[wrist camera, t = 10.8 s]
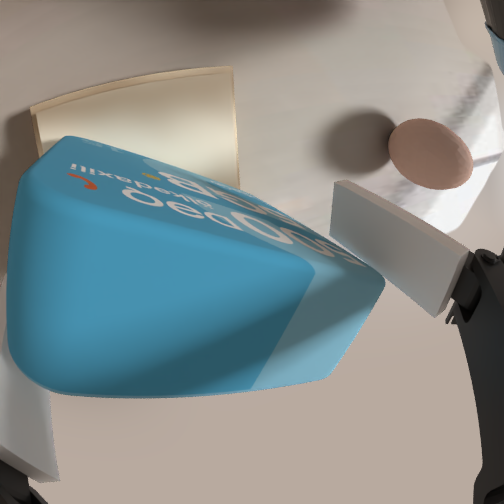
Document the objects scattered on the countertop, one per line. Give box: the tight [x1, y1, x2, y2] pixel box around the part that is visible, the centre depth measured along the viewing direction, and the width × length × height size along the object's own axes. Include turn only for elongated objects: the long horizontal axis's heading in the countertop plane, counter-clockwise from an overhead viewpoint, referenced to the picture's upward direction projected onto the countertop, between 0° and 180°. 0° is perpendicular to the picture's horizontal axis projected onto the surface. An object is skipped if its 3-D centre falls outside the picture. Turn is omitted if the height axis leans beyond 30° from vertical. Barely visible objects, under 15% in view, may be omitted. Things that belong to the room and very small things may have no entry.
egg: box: [388, 118, 473, 190], centre depth 24 cm, size 7×7×10 cm
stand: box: [30, 66, 240, 190], centre depth 18 cm, size 14×12×3 cm
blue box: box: [6, 136, 385, 398], centre depth 12 cm, size 12×4×12 cm, turn 61°
